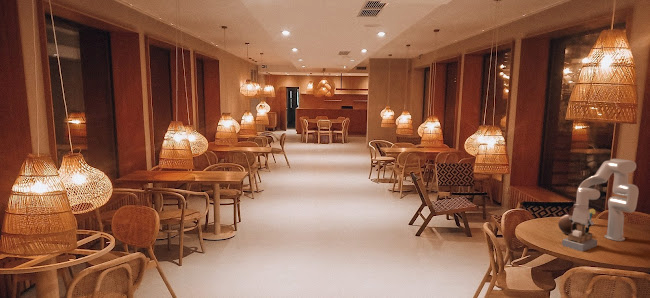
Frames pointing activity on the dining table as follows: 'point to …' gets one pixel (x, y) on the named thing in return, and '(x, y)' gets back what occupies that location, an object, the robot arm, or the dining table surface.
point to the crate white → (577, 233)
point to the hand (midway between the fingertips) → (580, 230)
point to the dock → (579, 244)
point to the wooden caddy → (583, 237)
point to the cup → (591, 213)
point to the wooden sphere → (566, 224)
